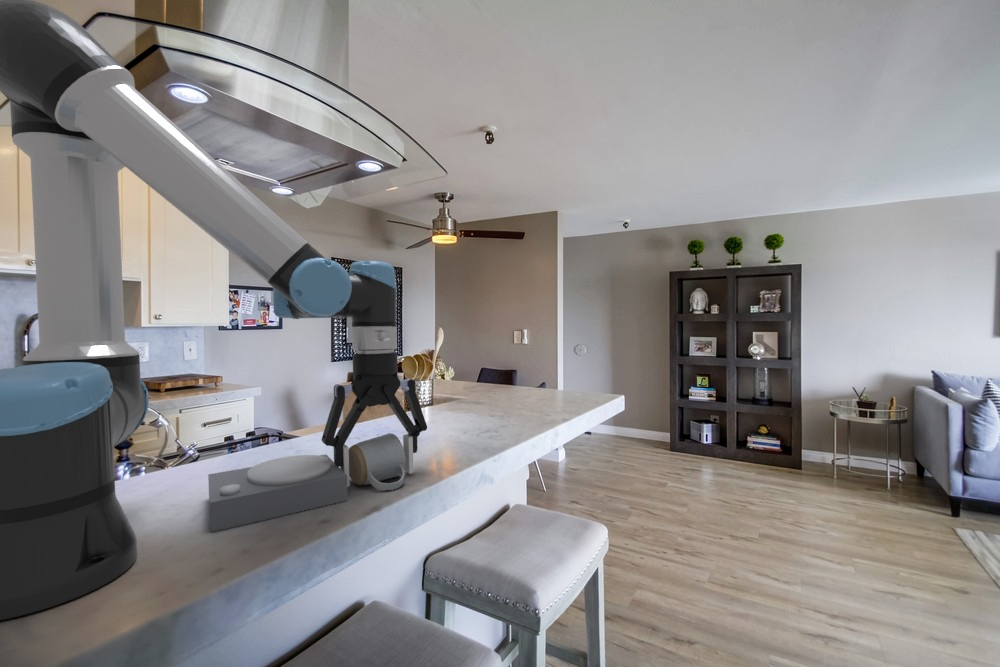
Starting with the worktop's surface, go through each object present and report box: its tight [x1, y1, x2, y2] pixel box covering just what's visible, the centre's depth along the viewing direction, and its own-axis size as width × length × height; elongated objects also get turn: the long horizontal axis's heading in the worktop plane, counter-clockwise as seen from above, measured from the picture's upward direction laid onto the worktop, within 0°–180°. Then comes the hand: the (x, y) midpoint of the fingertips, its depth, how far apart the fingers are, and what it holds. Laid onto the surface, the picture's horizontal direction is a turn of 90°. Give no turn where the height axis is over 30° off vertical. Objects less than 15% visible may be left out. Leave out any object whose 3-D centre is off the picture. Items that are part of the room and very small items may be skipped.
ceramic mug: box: [349, 432, 406, 492], centre depth 78 cm, size 11×8×8 cm
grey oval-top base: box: [207, 453, 349, 533], centre depth 71 cm, size 18×14×5 cm
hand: (378, 477), depth 79 cm, fingers open, 11 cm apart
